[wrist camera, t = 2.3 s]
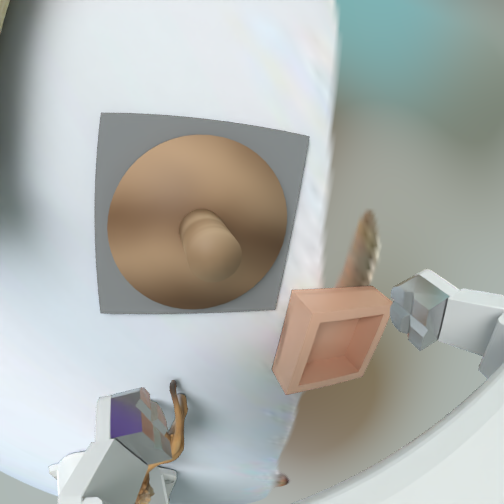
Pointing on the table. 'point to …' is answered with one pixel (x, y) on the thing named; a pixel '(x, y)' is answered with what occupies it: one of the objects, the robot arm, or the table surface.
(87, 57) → the table surface
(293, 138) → the mat
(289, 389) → the open box
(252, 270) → the lid
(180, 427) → the lion figurine
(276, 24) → the table surface
